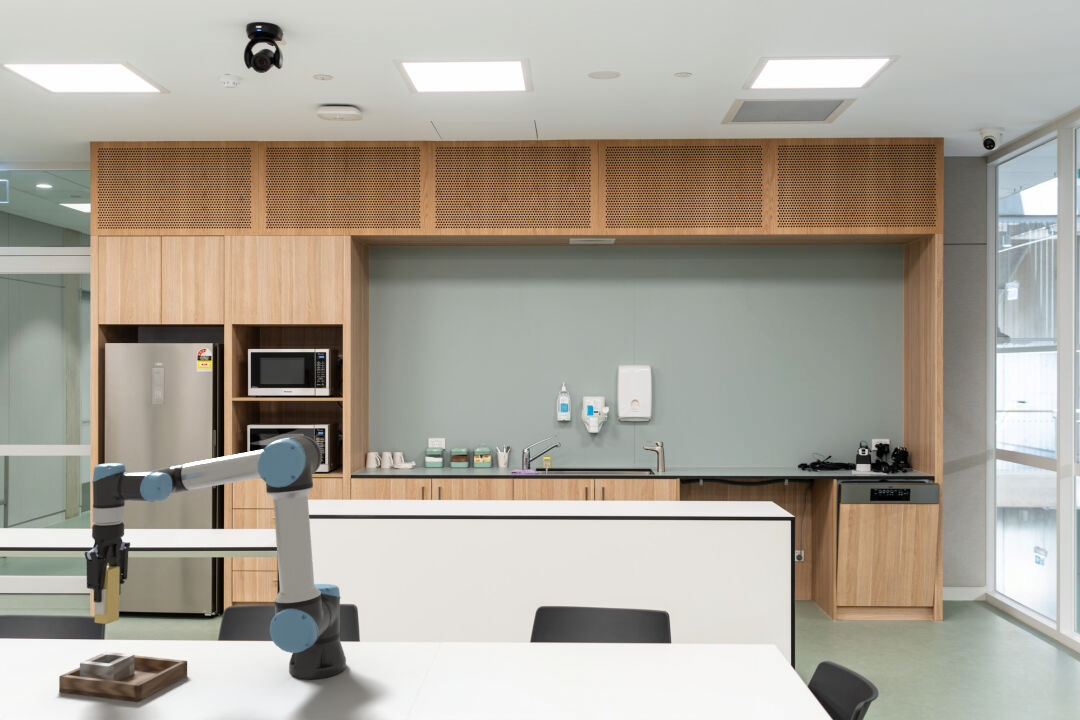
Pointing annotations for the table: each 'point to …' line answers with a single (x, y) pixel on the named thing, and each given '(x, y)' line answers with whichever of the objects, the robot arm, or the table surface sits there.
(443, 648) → the table surface
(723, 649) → the table surface
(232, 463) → the robot arm
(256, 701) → the table surface
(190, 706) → the table surface
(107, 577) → the connector
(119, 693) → the brown wooden tray
